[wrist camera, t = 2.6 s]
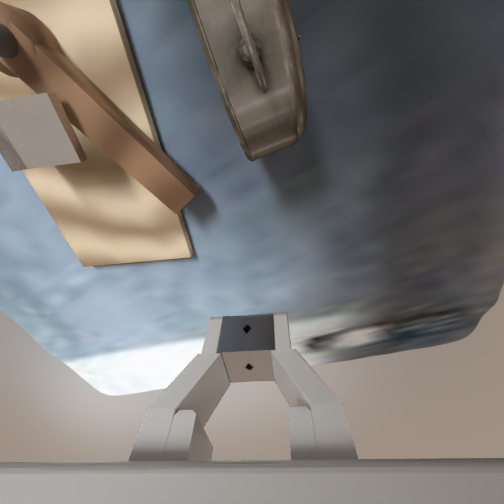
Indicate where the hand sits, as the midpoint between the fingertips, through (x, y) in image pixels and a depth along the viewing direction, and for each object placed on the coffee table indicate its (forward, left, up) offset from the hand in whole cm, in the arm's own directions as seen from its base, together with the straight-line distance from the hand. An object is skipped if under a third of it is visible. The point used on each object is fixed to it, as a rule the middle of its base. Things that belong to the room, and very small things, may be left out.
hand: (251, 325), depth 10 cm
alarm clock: (-9, +1, -20) cm, 22 cm away
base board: (-4, -17, -20) cm, 27 cm away
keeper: (-7, -18, -19) cm, 27 cm away
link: (-7, -13, -19) cm, 24 cm away
